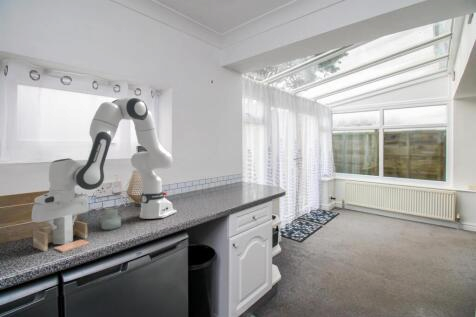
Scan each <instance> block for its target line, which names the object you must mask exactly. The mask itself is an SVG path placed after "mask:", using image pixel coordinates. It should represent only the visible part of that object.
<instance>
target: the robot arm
mask: <svg viewBox="0 0 476 317" xmlns="http://www.w3.org/2000/svg"><path fill="white" fill-rule="evenodd" d="M122 120H125V121H127V120H128V121H132V122H133V124H134V130H135V134H136V140H137V143H138V144H139V146H140V147H142V148H144V149H145V151H138V152H134V153H133V154H132V156H131V158H130V163H131V165H132V167H133V168H134V169H135V170H136V171H137V172H138V173H139V175H140V179H141V186H142V187H141V188H142V189H141V190H142V193H141V208H140V214H139V218H140V219H164V218H167V217H169V216H170V215H173V214H176V213H177V209H174V208H173V203H172V202H171V201H170V200H168V199H167V198H166V197H165V196H167V195H168V192H166V191H164V192H163V189H162V188H163V181H162V180H163V179H162V178H161V177H160V176H158V175H157V174H156V173H155V170H156V171H157V170H159V171H161V170H167V169H170V168H171V167H172V165H173V162H174V160H173V159H174V158H173V156H172V154H171V153H170V152H169V151H167V150H166V149H165V148H164V146H162V144H161V143H160V141H159V137H158V133H157V128H156V124H155V120H154V117H153V115H152V112H151V111H150V110H149V109H148V106H147V104H146V103H145V102H144V100H142V99H140V98H137V97H132V98H131V97H124V98H118V99H114V100H113V101H111V102H109V101H106V102H105V101H104V102H102V103H101V104H100V105H99V107H98V108H97V110H96V112H95V113H94V115H93V118H92V120H91V122H90V126H89V136H90V137H91V142H92V146H91V149H90V151H89V152H90V153H89V155H88V159H87V161H86V163H85V164H84V163H81V162H78V161H76V160H74V159H73V158H62V159H57V160H53V161H52V162H51V163H50V164H49V168H48V182H49V187H48V192H47V193H44V194H42V195H39V196H37V197H35V198H34V202H35V204H33V206H32V209H31V221H32V222H34V223H37V224H38V223H44V222H47V223H48V225H49V226H51V230H55V229H57V225H54V224H53V222H54V219H58V218H61V217H63V216H67V215H72V221H73V225H74V221H75V220H76V219H77V217H78V215H80V214H81V215H82V214H85V213H88V212H89V210H90V208H89V207H90V206H89V196H88V194H87V193H85V192H80V193H75V192H76V189H75V188H76V186H79V187H80V188H82V189H84V190H85V191H87V190H88V191H89V190H90V191H91V190H95V189H97V188H99V187H100V186H101V185H102V184H103V183H104V181H105V171H104V166H105V162H106V159H107V156H108V152H109V149H110V146H111V144H112V141H113V140H114V137H115V136H116V134H117V130H118V128H119V126H120V125H119V124H120V122H121V121H122Z"/></svg>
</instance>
